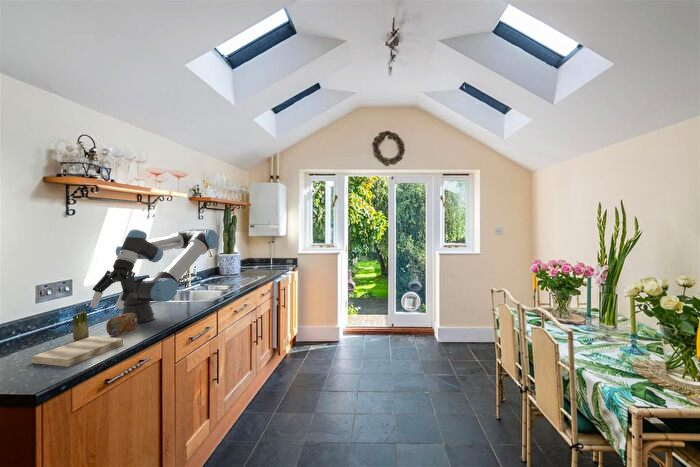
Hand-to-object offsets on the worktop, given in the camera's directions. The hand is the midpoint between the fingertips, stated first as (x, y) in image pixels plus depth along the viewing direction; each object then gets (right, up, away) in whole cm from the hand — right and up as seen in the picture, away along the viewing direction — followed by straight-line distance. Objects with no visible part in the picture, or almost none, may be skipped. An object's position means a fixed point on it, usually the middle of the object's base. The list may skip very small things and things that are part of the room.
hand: (105, 307), depth 143 cm
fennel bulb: (-11, -14, +2) cm, 19 cm away
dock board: (+1, -14, -13) cm, 20 cm away
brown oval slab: (0, -14, +11) cm, 18 cm away
